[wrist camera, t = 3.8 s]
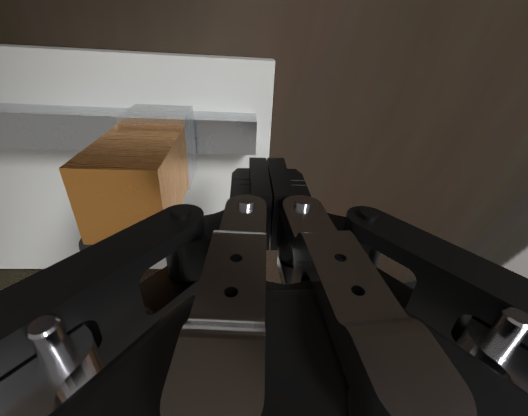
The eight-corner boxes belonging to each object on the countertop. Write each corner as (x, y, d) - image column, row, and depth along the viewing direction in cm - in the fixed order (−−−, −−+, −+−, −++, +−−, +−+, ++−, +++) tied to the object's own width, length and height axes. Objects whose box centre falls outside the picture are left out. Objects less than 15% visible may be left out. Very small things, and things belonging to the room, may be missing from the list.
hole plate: (-235, 30, 16) (-314, 31, 14) (273, 58, 18) (277, 63, 16) (-78, 256, 25) (-111, 279, 22) (260, 257, 27) (262, 279, 24)
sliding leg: (138, 101, 16) (55, 159, 9) (194, 104, 16) (156, 162, 9) (163, 260, 22) (125, 370, 15) (204, 260, 22) (185, 369, 15)
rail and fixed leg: (-219, 79, 16) (-746, 137, 8) (256, 100, 18) (267, 164, 10) (-100, 243, 22) (-321, 381, 13) (250, 245, 24) (254, 367, 15)
